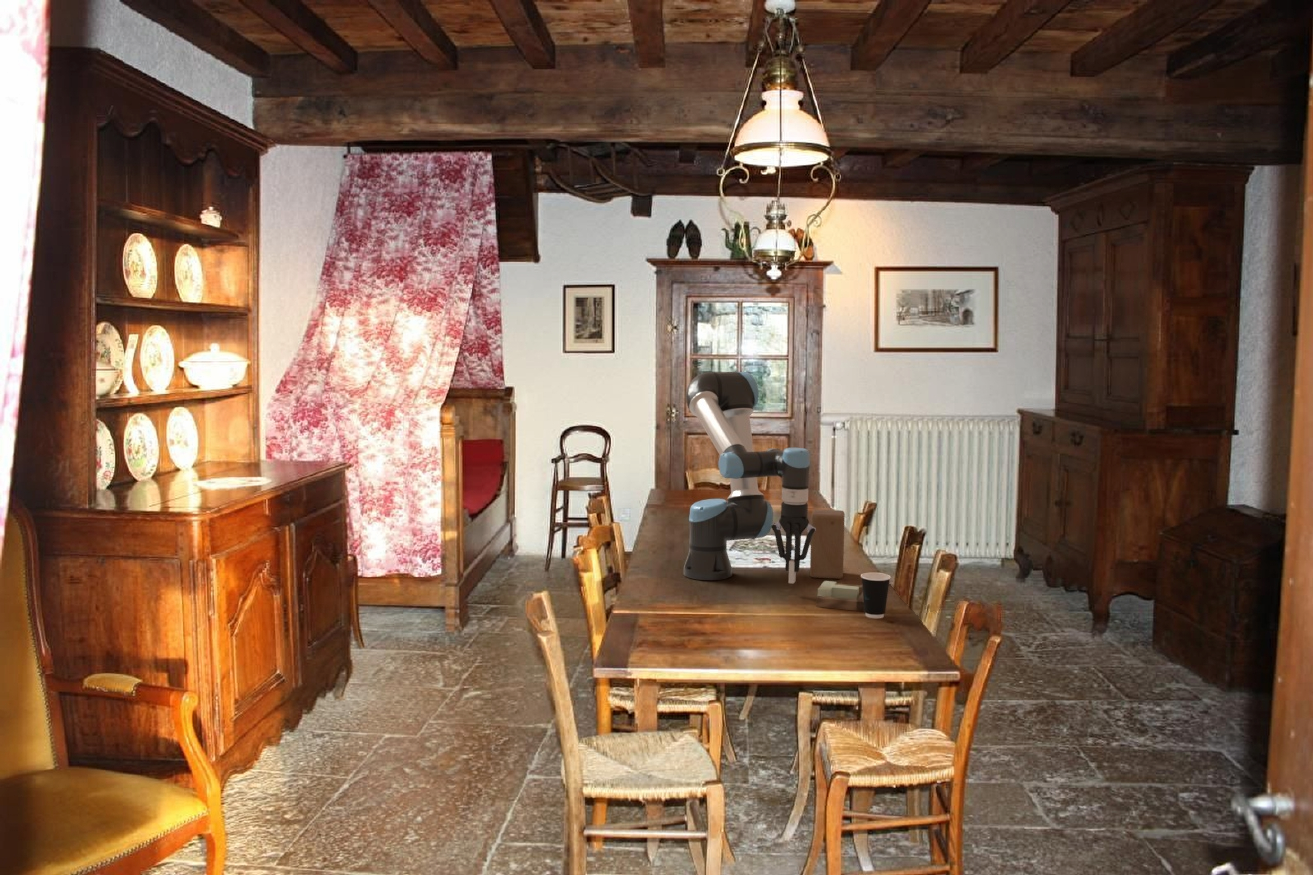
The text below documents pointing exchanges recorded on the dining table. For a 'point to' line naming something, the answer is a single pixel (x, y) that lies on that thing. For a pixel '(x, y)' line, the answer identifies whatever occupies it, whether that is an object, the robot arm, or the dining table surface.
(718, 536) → the robot arm
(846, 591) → the t block
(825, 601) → the brown stepped flat base
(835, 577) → the wooden block
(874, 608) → the dixie cup
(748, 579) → the dining table surface
